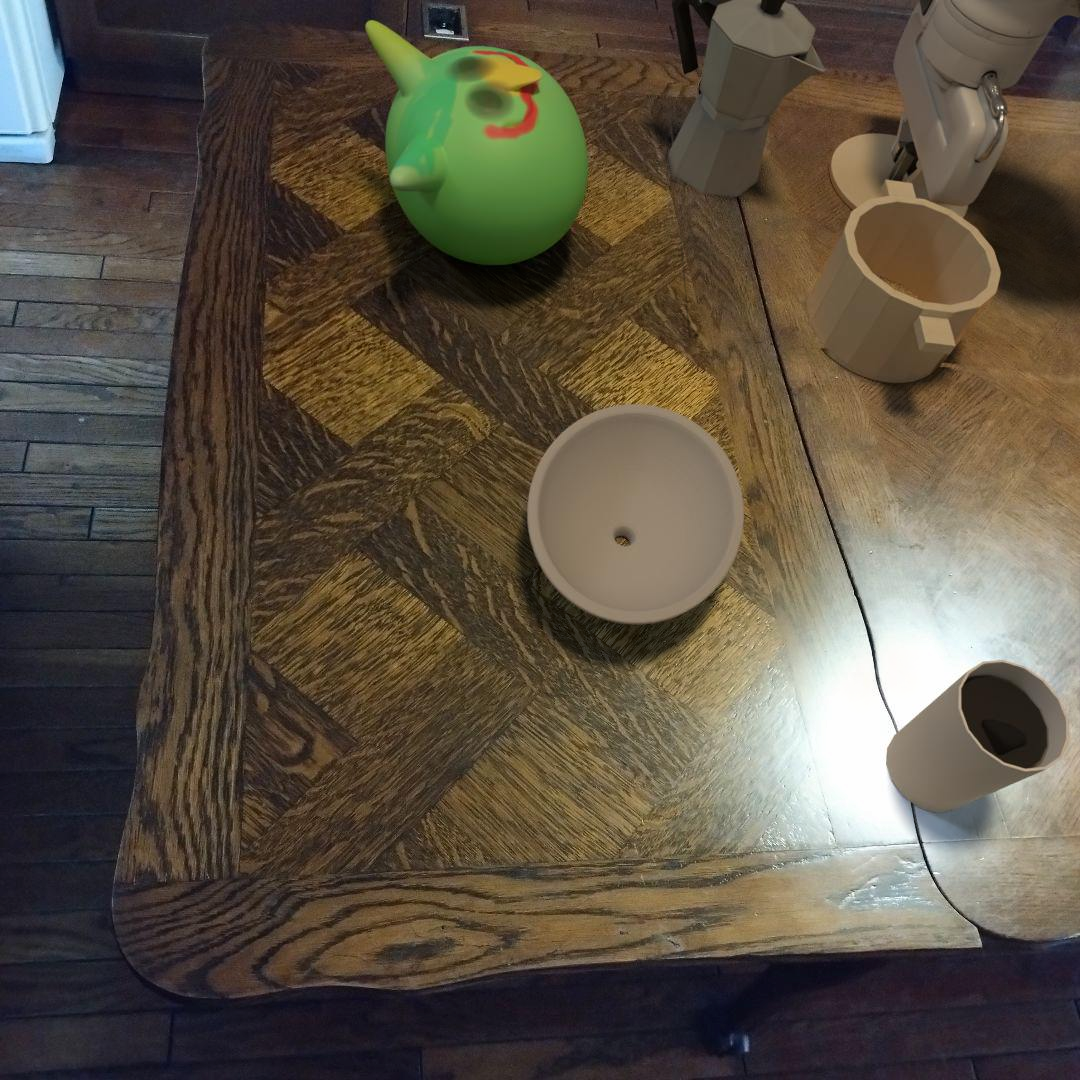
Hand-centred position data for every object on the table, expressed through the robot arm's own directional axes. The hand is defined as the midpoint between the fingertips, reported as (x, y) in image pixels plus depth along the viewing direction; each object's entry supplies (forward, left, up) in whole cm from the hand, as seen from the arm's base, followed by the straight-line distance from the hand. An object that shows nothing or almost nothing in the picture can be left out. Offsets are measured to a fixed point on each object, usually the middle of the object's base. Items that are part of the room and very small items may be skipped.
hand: (903, 176), depth 93 cm
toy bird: (+40, +12, -2) cm, 42 cm away
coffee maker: (+19, 0, -2) cm, 19 cm away
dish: (+28, +42, -2) cm, 51 cm away
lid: (0, 0, -1) cm, 1 cm away
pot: (+5, +18, -2) cm, 19 cm away
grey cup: (+8, +57, -2) cm, 58 cm away
